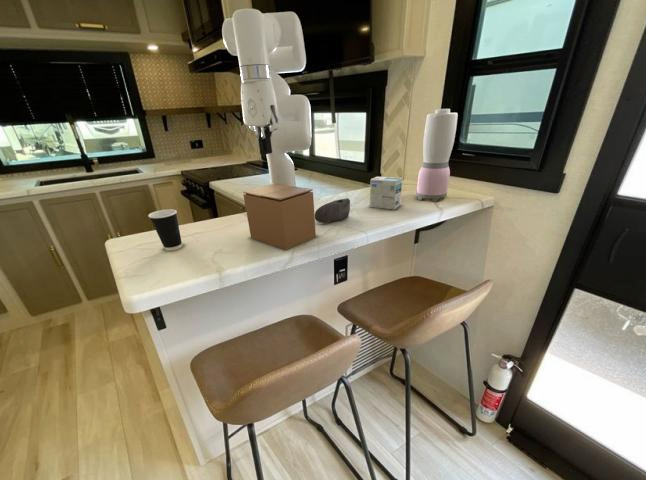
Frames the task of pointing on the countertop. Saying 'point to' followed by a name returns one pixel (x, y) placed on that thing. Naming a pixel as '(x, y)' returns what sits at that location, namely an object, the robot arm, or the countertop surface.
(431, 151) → the blender
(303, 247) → the countertop surface
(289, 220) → the carton
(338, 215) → the perforated stone tool
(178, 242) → the dixie cup
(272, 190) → the flap
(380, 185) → the light bulb box
